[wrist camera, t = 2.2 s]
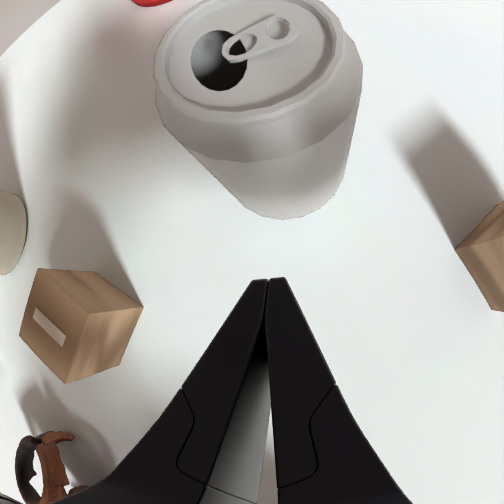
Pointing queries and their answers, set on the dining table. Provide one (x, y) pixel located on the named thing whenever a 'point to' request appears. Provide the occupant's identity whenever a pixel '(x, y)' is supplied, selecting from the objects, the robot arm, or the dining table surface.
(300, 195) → the can
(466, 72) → the dining table surface
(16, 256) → the travel mug
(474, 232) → the marked block 1
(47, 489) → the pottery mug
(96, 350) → the marked block 2
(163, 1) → the canned food
